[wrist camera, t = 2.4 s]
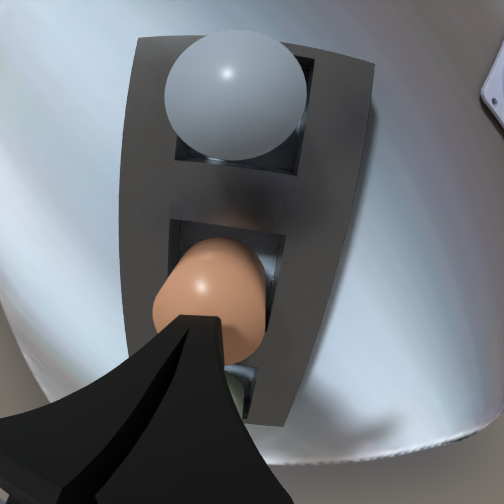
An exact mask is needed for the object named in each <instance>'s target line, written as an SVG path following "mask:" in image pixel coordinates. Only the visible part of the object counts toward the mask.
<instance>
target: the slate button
mask: <svg viewBox="0 0 504 504" xmlns="http://www.w3.org/2000/svg"><path fill="white" fill-rule="evenodd" d="M306 96H307V90H306V81H305V77H304V74H303V71H302V68H301V66H300V65H299V63H298V61H297V59H296V58H295V57H294V55H293V54H292V53H291V52H290V51H289V50H288V49H287V48H286V47H285V46H284V45H283V44H281V43H280V42H279V41H277V40H275V39H274V38H272V37H270V36H268V35H265V34H263V33H259V32H256V31H251V30H244V29H232V30H224V31H220V32H216V33H213V34H210V35H207V36H205V37H203V38H201V39H199V40H198V41H196V42H195V43H193V44H192V45H191V46H189V47H188V48H187V49H186V50H185V51H184V52H183V53H182V54H181V55H180V56H179V58H178V59H177V60H176V62H175V63H174V65H173V67H172V69H171V70H170V73H169V75H168V78H167V82H166V86H165V95H164V98H165V108H166V113H167V116H168V119H169V121H170V123H171V125H172V127H173V129H174V130H175V132H176V133H177V135H178V136H179V137H180V138H181V139H182V140H183V141H184V142H185V143H186V144H187V145H189V146H190V147H191V148H193V149H194V150H196V151H197V152H200V153H202V154H204V155H206V156H209V157H212V158H216V159H221V160H233V161H234V160H245V159H250V158H254V157H257V156H261V155H263V154H265V153H267V152H270V151H271V150H273V149H274V148H276V147H278V146H279V145H280V144H281V143H283V142H284V141H285V140H286V139H287V138H288V137H289V136H290V135H291V134H292V132H293V131H294V130H295V128H296V127H297V125H298V123H299V122H300V120H301V117H302V115H303V112H304V109H305V104H306Z"/></svg>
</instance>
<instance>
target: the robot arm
mask: <svg viewBox="0 0 504 504" xmlns="http://www.w3.org/2000/svg"><path fill="white" fill-rule="evenodd" d="M481 98H482V100H483V101H484V103H485V104H486V105H487V107H488V108H489V109H490V111H491V112H492V113H493V115H494V116H495V117H496V119H497V120H498V121H499V123H500V124H501V126H502V127H503V129H504V41H503V44H502V46H501V48H500V51H499V53H498V55H497V58H496V60H495V62H494V64H493V66H492V69H491V71H490V73H489V75H488V77H487V79H486V81H485V83H484V85H483V87H482V89H481ZM492 100H493V103H494V104H493V103H492ZM224 364H225V361H224V349H223V336H222V323H221V319H220V318H219V317H218V316H201V315H182V314H180V315H178V316H177V317H176V318H175V319H174V320H173V321H172V322H170V323H169V324H168V325H167V326H166V327H165V328H164V329H163V330H161V331H160V332H159V333H158V334H157V335H156V336H155V337H154V338H152V339H151V340H150V341H149V342H148V343H147V344H145V345H144V346H143V347H142V348H141V349H140V350H138V351H137V352H136V353H134V354H133V355H132V356H130V357H129V358H128V359H127V360H125V361H124V362H123V363H121V364H120V365H119V366H117V367H116V368H115V369H113V370H112V371H110V372H109V373H107V374H106V375H104V376H103V377H101V378H99V379H98V380H96V381H94V382H93V383H91V384H89V385H88V386H86V387H84V388H82V389H80V390H78V391H76V392H74V393H72V394H70V395H68V396H66V397H64V398H62V399H60V400H57V401H55V402H53V403H50V404H48V405H45V406H42V407H40V408H37V409H34V410H31V411H28V412H24V413H21V414H17V415H13V416H9V417H5V418H0V488H2V489H3V490H4V491H5V492H6V493H8V494H9V497H8V499H7V502H6V501H4V500H3V499H1V498H0V504H294V503H293V500H292V498H291V497H290V495H289V494H288V493H287V492H286V490H285V489H284V488H283V487H282V485H281V484H280V483H279V481H278V480H277V478H276V477H275V476H274V474H273V473H272V471H271V470H270V468H269V467H268V465H267V464H266V462H265V461H264V459H263V458H262V456H261V454H260V453H259V451H258V449H257V448H256V446H255V444H254V442H253V440H252V438H251V437H250V435H249V433H248V431H247V429H246V427H245V425H244V423H243V421H242V419H241V417H240V414H239V412H238V410H237V408H236V405H235V403H234V400H233V397H232V395H231V392H230V389H229V386H228V383H227V380H226V376H225V373H224Z"/></svg>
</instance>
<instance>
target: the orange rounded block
mask: <svg viewBox="0 0 504 504" xmlns="http://www.w3.org/2000/svg"><path fill="white" fill-rule="evenodd" d="M265 303H266V276H265V270H264V267H263V265H262V263H261V261H260V259H259V258H258V256H257V255H256V254H255V253H254V252H253V251H252V250H251V249H250V248H249V247H248V246H246V245H244V244H243V243H241V242H239V241H236V240H233V239H230V238H224V237H213V238H207V239H204V240H201V241H199V242H197V243H195V244H194V245H192V246H191V247H190V248H189V249H188V250H187V251H186V252H185V254H184V255H183V256H182V258H181V259H180V261H179V262H178V264H177V265H176V267H175V268H174V270H173V271H172V273H171V274H170V276H169V277H168V279H167V280H166V282H165V283H164V285H163V286H162V288H161V289H160V291H159V293H158V294H157V296H156V298H155V301H154V305H153V321H154V325H155V328H156V330H157V332H158V333H159V332H160V331H161V330H163V329H164V328H165V327H166V326H167V325H168V324H169V323H170V322H172V321H173V320H174V319H175V318H176V317H177V316H178V315H180V314H182V315H201V316H218V317H219V318H220V319H221V323H222V336H223V349H224V361H225V364H224V366H226V365H231V364H234V363H237V362H240V361H242V360H244V359H246V358H247V357H249V356H250V355H251V354H252V353H253V352H254V351H255V350H256V349H257V348H258V347H259V345H260V343H261V341H262V339H263V336H264V332H265Z"/></svg>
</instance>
